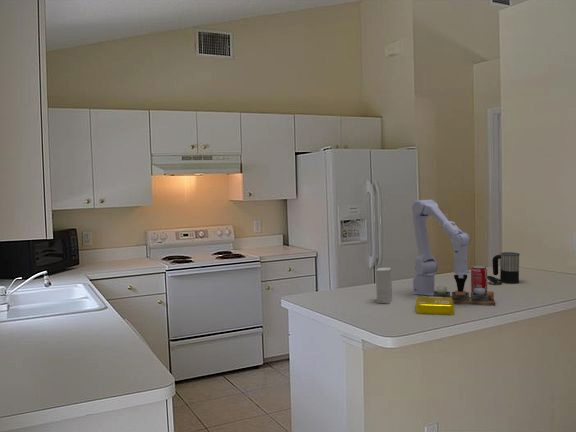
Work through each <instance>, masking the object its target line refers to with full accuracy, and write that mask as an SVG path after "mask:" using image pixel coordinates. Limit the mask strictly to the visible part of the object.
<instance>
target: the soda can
mask: <svg viewBox="0 0 576 432" xmlns="http://www.w3.org/2000/svg"><path fill="white" fill-rule="evenodd" d="M487 276H488V269H487V266H486V265H472V266H471V269H470V278H471V279H470V293H471V292H474V288H484V289H485V293H488V279H487Z"/></svg>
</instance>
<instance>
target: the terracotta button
mask: <svg viewBox="0 0 576 432" xmlns="http://www.w3.org/2000/svg"><path fill="white" fill-rule="evenodd" d="M454 292H455V295H466V292H467V291H466V290H463V292H458V289H457V290H455V291H454Z"/></svg>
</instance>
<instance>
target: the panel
mask: <svg viewBox="0 0 576 432" xmlns="http://www.w3.org/2000/svg"><path fill="white" fill-rule="evenodd" d="M469 293H470V294H469ZM427 297H451V298H452V299H453V302H454V305H465V306H466V305H471V306H489V307H490V306H493V307H495V306H496V301H495V292H494V291H490V290H489V291H487V293H485V296H478V295H474V292H471V291H470V292H469V291H466V295H455V291H452V292H451V291H447V294H436V290H434V294H433V295H427Z"/></svg>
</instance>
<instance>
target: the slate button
mask: <svg viewBox="0 0 576 432" xmlns="http://www.w3.org/2000/svg"><path fill="white" fill-rule="evenodd" d="M474 295H478V296H485V289H484V288H474Z"/></svg>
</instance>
